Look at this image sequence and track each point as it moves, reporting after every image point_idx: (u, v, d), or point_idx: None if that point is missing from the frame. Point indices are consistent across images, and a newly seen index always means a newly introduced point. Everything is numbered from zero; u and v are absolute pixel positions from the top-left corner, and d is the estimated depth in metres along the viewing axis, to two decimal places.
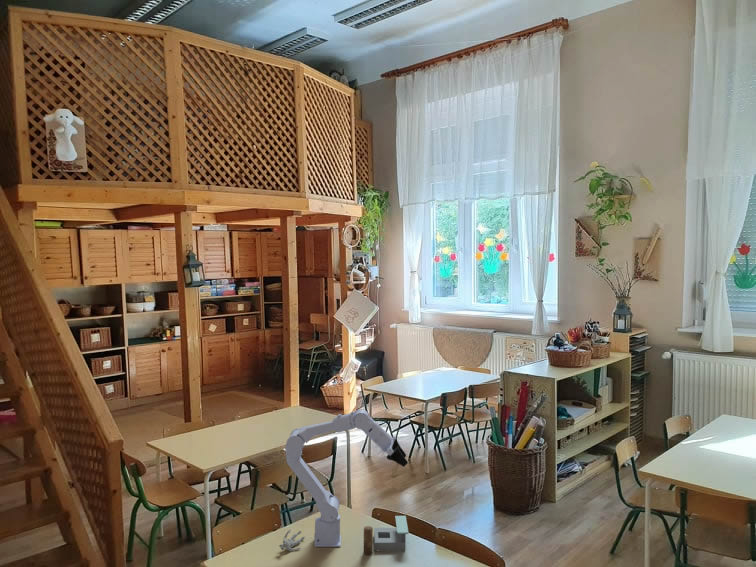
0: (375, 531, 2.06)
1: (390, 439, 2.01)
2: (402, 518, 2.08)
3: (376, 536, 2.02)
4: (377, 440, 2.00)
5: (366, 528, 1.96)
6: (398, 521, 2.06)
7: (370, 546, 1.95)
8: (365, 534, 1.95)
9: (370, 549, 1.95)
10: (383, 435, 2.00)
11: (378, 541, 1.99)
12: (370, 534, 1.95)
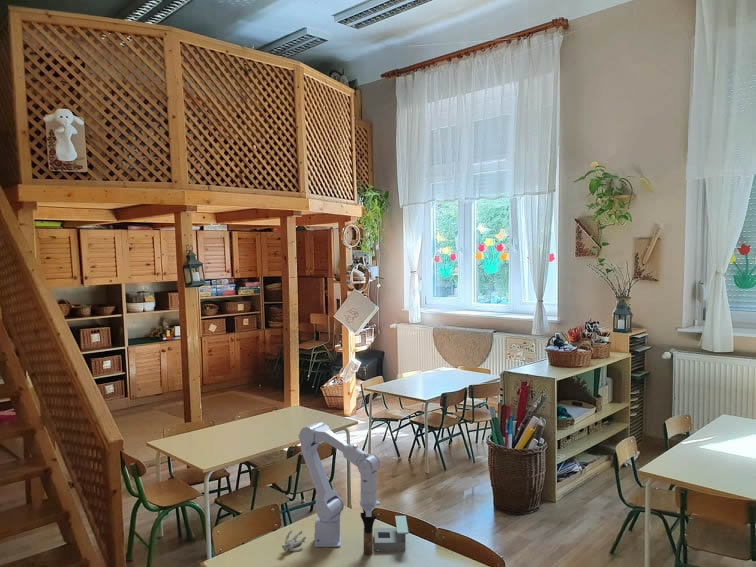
0: (375, 531, 2.06)
1: (375, 502, 1.94)
2: (402, 518, 2.08)
3: (376, 536, 2.02)
4: (365, 493, 1.93)
5: None
6: (398, 521, 2.06)
7: (370, 546, 1.95)
8: (365, 534, 1.95)
9: (370, 549, 1.95)
10: (373, 494, 1.93)
11: (378, 541, 1.99)
12: (370, 534, 1.95)
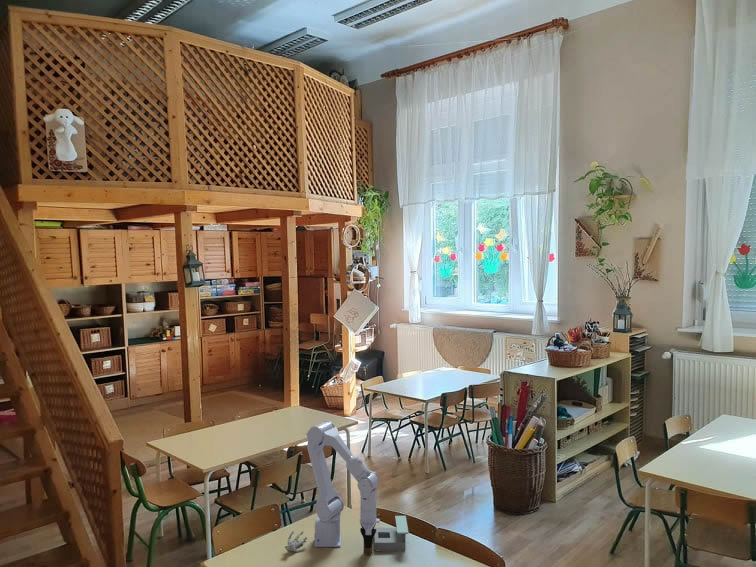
0: None
1: (374, 519, 1.94)
2: (402, 518, 2.08)
3: (376, 536, 2.02)
4: (365, 511, 1.93)
5: None
6: (398, 521, 2.06)
7: None
8: None
9: (370, 549, 1.95)
10: (373, 512, 1.94)
11: (378, 541, 1.99)
12: None
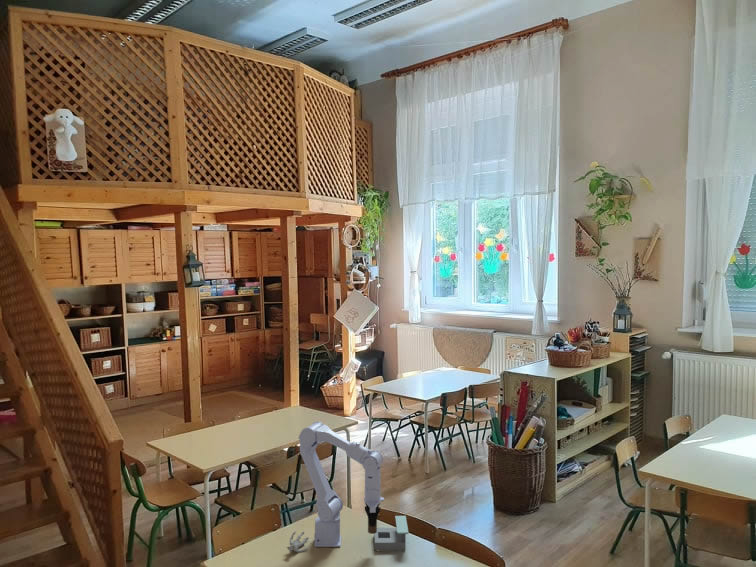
0: None
1: (379, 498, 1.96)
2: (402, 518, 2.08)
3: (376, 536, 2.02)
4: (369, 490, 1.95)
5: None
6: (398, 521, 2.06)
7: None
8: None
9: (374, 527, 1.97)
10: (377, 490, 1.95)
11: (378, 541, 1.99)
12: None
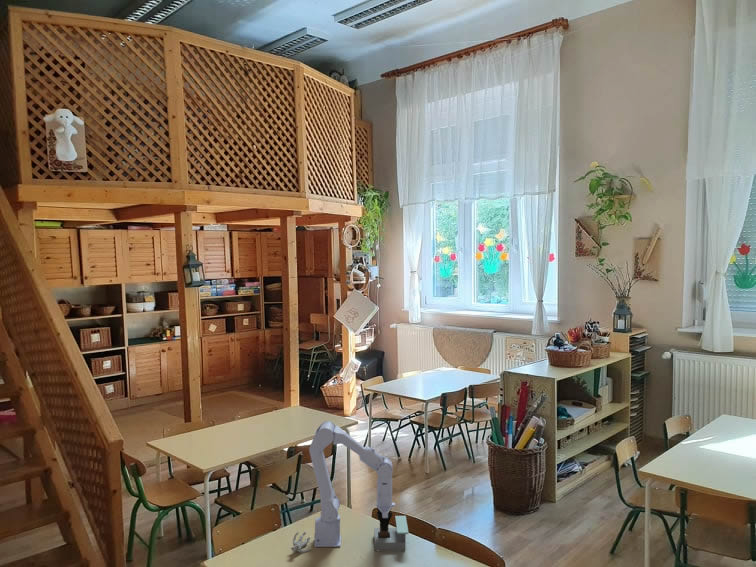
0: (375, 531, 2.06)
1: (390, 503, 2.01)
2: (402, 518, 2.08)
3: (376, 536, 2.02)
4: (381, 495, 2.00)
5: None
6: (398, 521, 2.06)
7: None
8: None
9: (386, 532, 2.02)
10: (389, 496, 2.01)
11: (378, 541, 1.99)
12: None
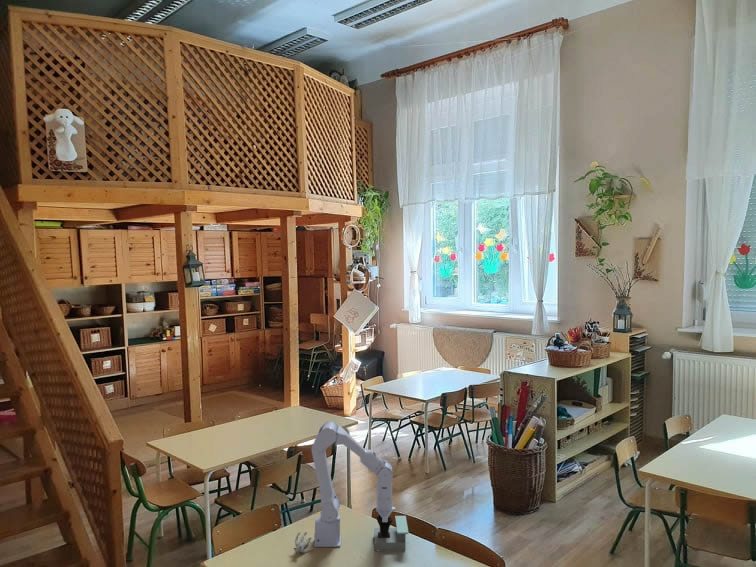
0: (375, 531, 2.06)
1: (390, 508, 2.02)
2: (402, 518, 2.08)
3: (376, 536, 2.02)
4: (381, 500, 2.00)
5: None
6: (398, 521, 2.06)
7: None
8: None
9: None
10: (389, 500, 2.01)
11: (378, 541, 1.99)
12: None
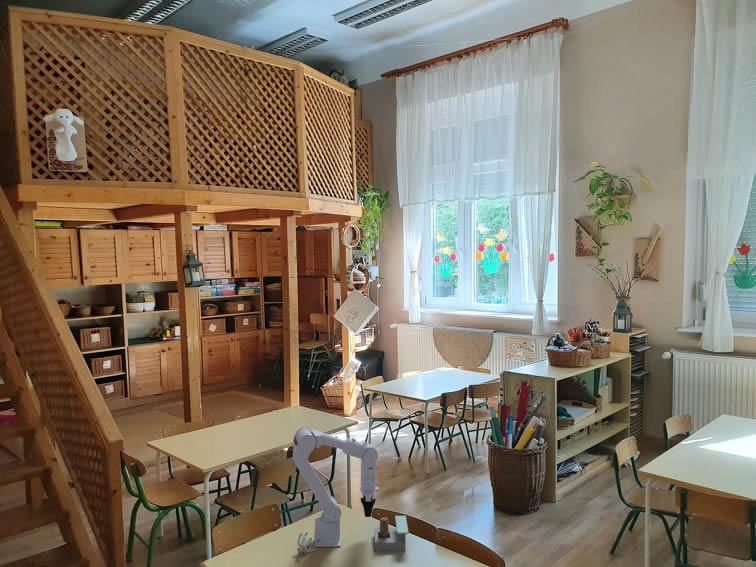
0: (375, 531, 2.06)
1: (374, 488, 2.06)
2: (402, 518, 2.08)
3: (376, 536, 2.02)
4: (365, 480, 2.05)
5: (382, 519, 2.03)
6: (398, 521, 2.06)
7: (386, 536, 2.02)
8: (381, 525, 2.02)
9: None
10: (372, 480, 2.05)
11: (378, 541, 1.99)
12: (386, 524, 2.02)
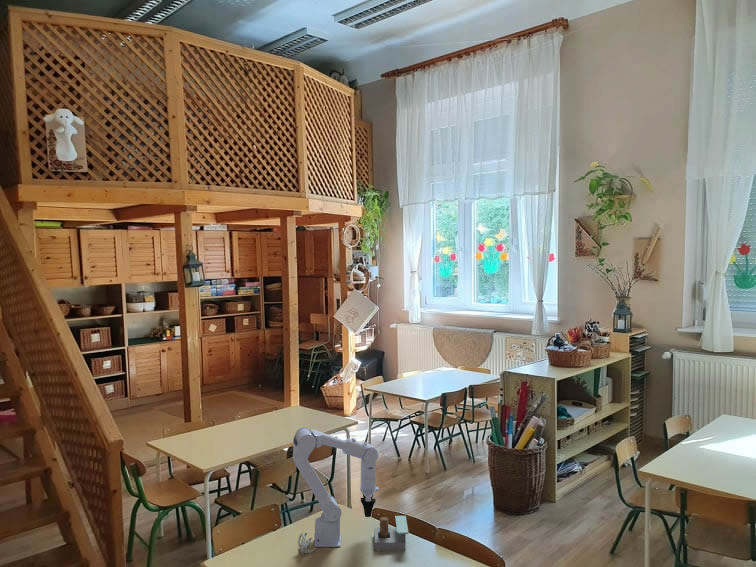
0: (375, 531, 2.06)
1: (374, 488, 2.06)
2: (402, 518, 2.08)
3: (376, 536, 2.02)
4: (365, 480, 2.05)
5: (382, 519, 2.03)
6: (398, 521, 2.06)
7: (386, 536, 2.02)
8: (381, 525, 2.02)
9: None
10: (372, 480, 2.05)
11: (378, 541, 1.99)
12: (386, 524, 2.02)
